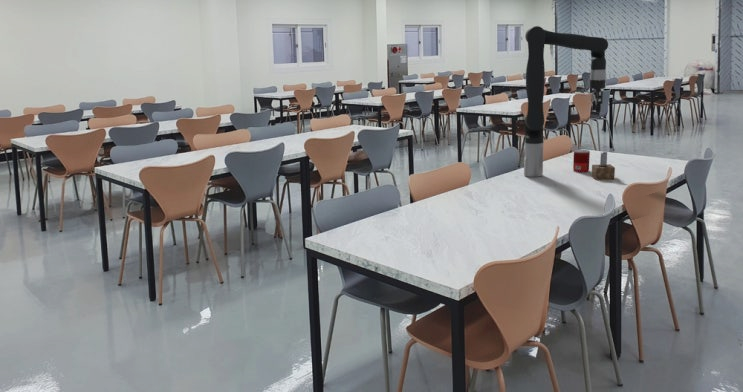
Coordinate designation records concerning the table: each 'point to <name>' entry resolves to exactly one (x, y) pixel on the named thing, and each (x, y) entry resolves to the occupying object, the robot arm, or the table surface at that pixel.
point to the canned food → (581, 160)
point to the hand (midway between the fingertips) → (596, 111)
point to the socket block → (603, 172)
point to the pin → (603, 159)
